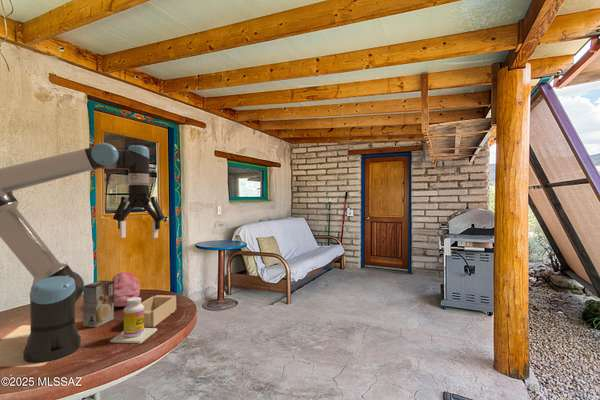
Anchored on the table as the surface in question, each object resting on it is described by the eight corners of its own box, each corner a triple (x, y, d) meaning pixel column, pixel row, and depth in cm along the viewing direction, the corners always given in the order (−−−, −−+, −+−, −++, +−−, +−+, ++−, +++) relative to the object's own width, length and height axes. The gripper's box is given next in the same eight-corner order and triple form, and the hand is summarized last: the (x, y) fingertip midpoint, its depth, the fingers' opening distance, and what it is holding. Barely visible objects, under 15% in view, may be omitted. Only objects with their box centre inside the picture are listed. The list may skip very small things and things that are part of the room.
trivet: (110, 342, 112) (110, 340, 112) (129, 329, 123) (129, 327, 123) (140, 343, 111) (140, 341, 111) (157, 330, 122) (157, 328, 122)
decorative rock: (101, 290, 156) (101, 268, 149) (133, 282, 165) (134, 261, 158) (111, 320, 145) (111, 298, 138) (144, 310, 154) (146, 288, 147)
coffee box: (101, 317, 135) (101, 279, 135) (114, 319, 133) (114, 280, 133) (82, 326, 126) (82, 285, 126) (96, 327, 124) (96, 286, 124)
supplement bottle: (136, 338, 113) (136, 302, 113) (119, 337, 114) (119, 301, 114) (147, 330, 120) (147, 296, 120) (131, 329, 120) (131, 295, 120)
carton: (123, 328, 124) (123, 312, 124) (155, 308, 147) (155, 295, 147) (150, 329, 123) (150, 313, 123) (178, 308, 146) (178, 295, 146)
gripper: (102, 184, 125) (103, 238, 125) (164, 184, 123) (164, 239, 123) (115, 185, 133) (115, 236, 133) (173, 185, 131) (173, 236, 131)
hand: (139, 237), depth 128 cm, fingers open, 13 cm apart
